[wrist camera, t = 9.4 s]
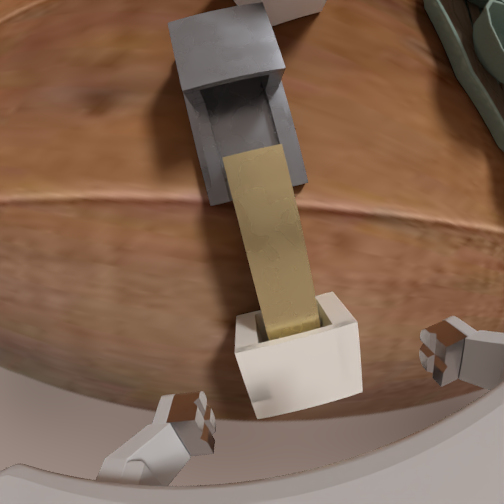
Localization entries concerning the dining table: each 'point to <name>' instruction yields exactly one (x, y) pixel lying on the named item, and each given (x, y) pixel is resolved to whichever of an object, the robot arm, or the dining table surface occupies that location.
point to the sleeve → (233, 90)
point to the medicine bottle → (287, 8)
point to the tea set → (475, 53)
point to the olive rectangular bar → (273, 240)
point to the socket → (300, 361)
